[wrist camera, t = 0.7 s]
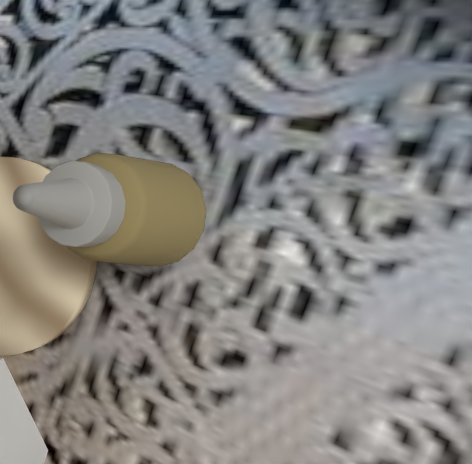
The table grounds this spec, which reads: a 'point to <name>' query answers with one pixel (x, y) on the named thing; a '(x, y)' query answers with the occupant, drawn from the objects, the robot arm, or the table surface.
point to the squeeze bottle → (118, 209)
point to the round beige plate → (35, 270)
